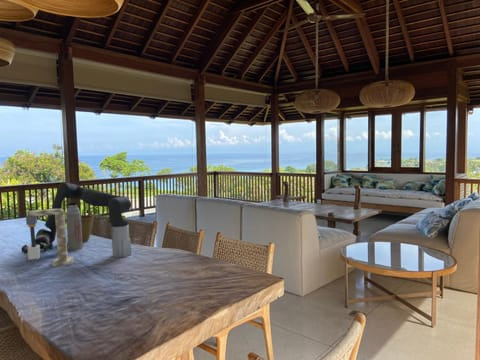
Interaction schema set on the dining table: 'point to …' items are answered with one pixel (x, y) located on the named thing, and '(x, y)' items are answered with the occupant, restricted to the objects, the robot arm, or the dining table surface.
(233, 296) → the dining table surface
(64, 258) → the stand
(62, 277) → the dining table surface
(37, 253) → the sleeve
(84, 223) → the plant pot
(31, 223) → the dark grey piece
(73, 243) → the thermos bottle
